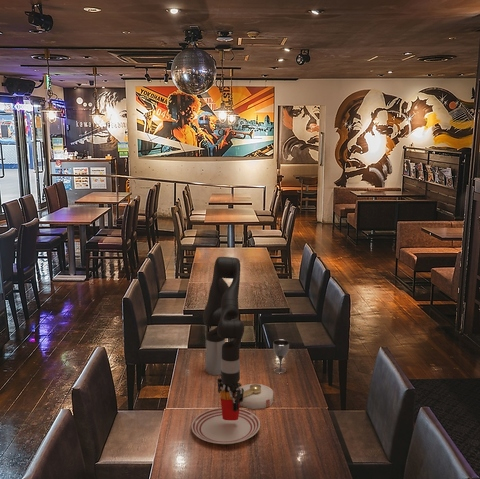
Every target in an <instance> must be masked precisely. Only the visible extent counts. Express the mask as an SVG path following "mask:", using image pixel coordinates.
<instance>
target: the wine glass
mask: <svg viewBox="0 0 480 479" xmlns="http://www.w3.org/2000/svg"><path fill="white" fill-rule="evenodd" d="M272 345H273V346H272V347H273V349H272V350H273V352H274V354H275V356H276V357H277V358H278V360H279V367H280V368H278V367H275V368H276V370H275V372H274V373H276V372H278V373H277V374H280V373H282V372H285V371H286V370H285V369H286V368H285V367H282V363H283V359H284V358H285V357H286V356H288V353H289V350H290V342H289V340H286V339H275V340H274V341H273V342H272ZM284 368H285V369H284ZM282 374H283V373H282Z"/></svg>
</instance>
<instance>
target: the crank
mask: <svg viewBox="0 0 480 479" xmlns="http://www.w3.org/2000/svg"><path fill="white" fill-rule="evenodd" d="M251 384H252V385H250V389H248V390H246V391H244V393H243V397H246V396H248V395H251V394H259V393H260V392H261V386H260V385H258V384H259V383H251ZM238 386H239V388H240V387H242V383H241V382H238Z"/></svg>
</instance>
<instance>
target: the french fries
mask: <svg viewBox="0 0 480 479" xmlns="http://www.w3.org/2000/svg"><path fill="white" fill-rule="evenodd" d="M219 394H220V408H222V417H223V419H224V420H238V417H239V409H238V411H235V412H234V411H233V399H232V398H231V396H230V393H229V392H225V390H224V393H223V391H222V392H221V391H220V393H219ZM235 394H237V393H236V392H235V393H234V394H233V395H235ZM239 399H240V398H239ZM235 400H236V397H235ZM240 406H241V405H240V403H239V408H240ZM240 409H241V408H240Z"/></svg>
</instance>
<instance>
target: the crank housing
mask: <svg viewBox="0 0 480 479" xmlns="http://www.w3.org/2000/svg"><path fill="white" fill-rule="evenodd" d="M252 384H253V383H250V384H249V383H248V384H244V385H241V386H240V387H239V388H240V389H241V388H243V389H244V391H246V390H248V389H250V385H252ZM257 384H258V385H260V386H261V392H260V393H259V394H251V395H248V396H246V397H243V402H240V406H241V407H244V408H246V409H250V410H262V409H267V408H268V407H271V405H273V403H274V390H273V389H272V388H271V387H269V386H267V385H265V384H261V383H257Z"/></svg>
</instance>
